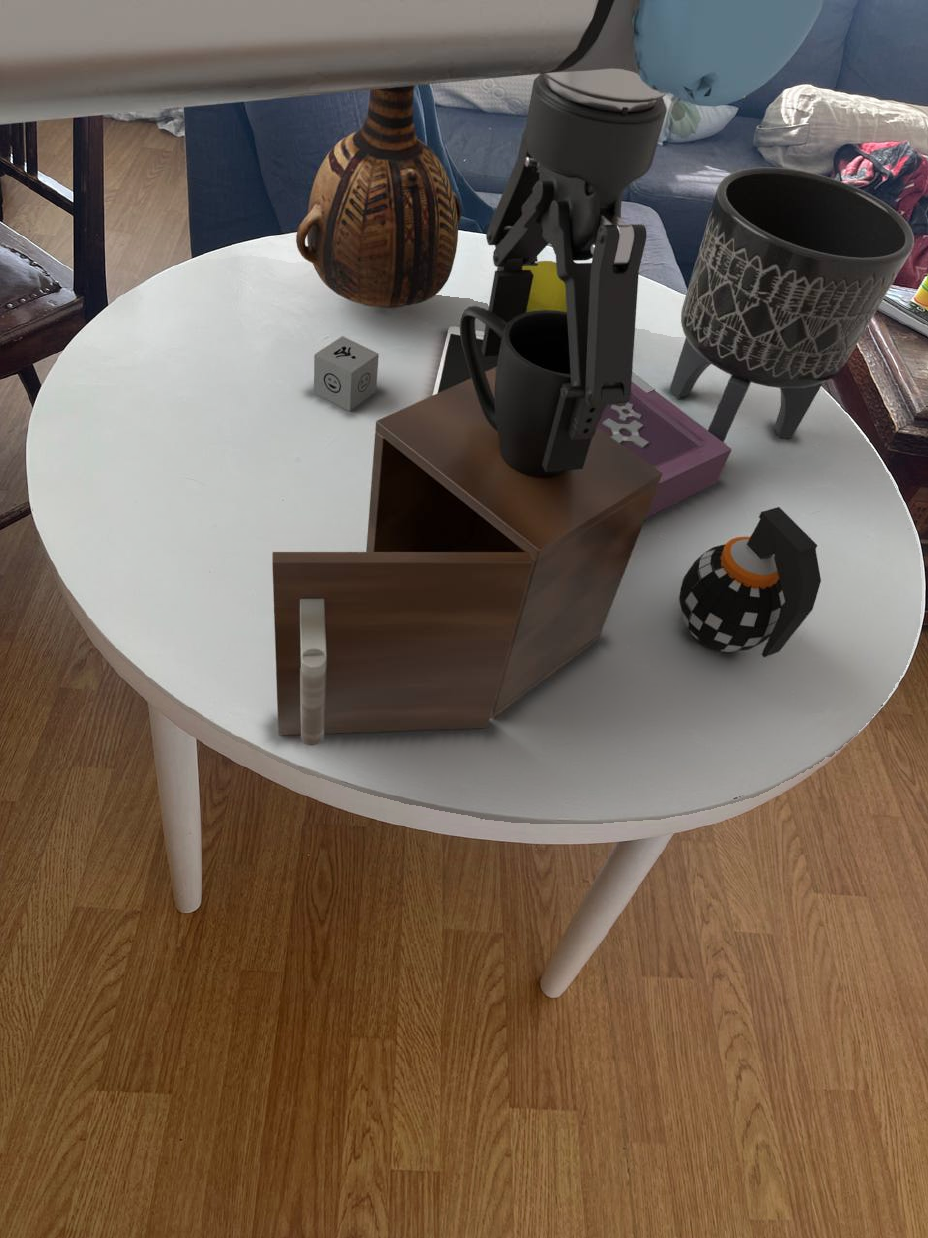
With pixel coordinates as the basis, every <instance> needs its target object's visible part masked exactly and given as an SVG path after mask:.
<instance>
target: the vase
mask: <svg viewBox="0 0 928 1238" xmlns="http://www.w3.org/2000/svg"><path fill="white" fill-rule="evenodd" d="M414 93H415V86H405V87H394V88H384V89H373V90H369V101H368V109H367V114H366V118H365V120H364V122H363V124H362V126H361V128H360V129H359V130H356V131H355V132H352V133H351V134H348V135H347V136H345V137H344V138H342V139H341V140H339V141H338V142H336V144H335V145H334V146H332V148H331V149H330V151H328V153H327V155H326V156H325V158H324V160H323V161H322V163H321V164H320V167H319V168H318V171H317V173H316V176H315V178H314V180H313V184H312V187H311V192H310V197H309V200H308V201H309V202H308V208H307V209H308V210H307V214H306V216H305V217H304V219H303V220H302V221H301V223H300V224H299V226H298V228H297V231H296V235H295V236H296V237H295V243H296V248H297V250H298V252H299V254H300V256H301V257H302V258H303V259H304V260H306V261H307V262H309V263H311V264H312V266H313V267H314V269H315V271H316V273H317V275H318V277H319V278H320V280H321V281H322V282H323V284H324V285H325V286H326V287H328V288H329V289H330V290H331V291H333V292H334V293H335V294H337V295H338V296H340V297H342V298H344V299H346V300H348V301H351V302H352V303H353V302H354V303H356V304H360V305H363V306H367V307H373V308H379V309H380V308H383V309H391V308H393V309H394V308H403V307H408V306H413V305H417V304H420V303H423V302H426V301H428V300H430V299H433V298H434V297H435V296H437V295H438V293H440V291H441V290H443V288H444V286H445V285H446V283H447V282H448V281H449V278H450V276H451V273H452V271H453V267H454V263H455V259H456V254H457V248H458V242H459V224H460V221H461V217H462V207H461V203H460V198H459V197H458V196H457V195H456V192H455V191H454V190H453V187H452V183H451V181H450V178H449V175H448V173H447V171H446V169H445V167H444V165H443V163H442V161H441V160H440V158H439V157H438V156H437V155H436V153H435V152H434V150H432V149H431V148H430V147H429V146H428V145H427V144H426V143H424V142H423V141H421V140H420V139H418V136H417V133H416V130H415V129H416V128H415V122H414ZM306 240H307V241H306ZM306 242H307V245H306Z"/></svg>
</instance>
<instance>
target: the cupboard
mask: <svg viewBox="0 0 928 1238" xmlns="http://www.w3.org/2000/svg"><path fill="white" fill-rule="evenodd" d="M496 368H497V367H495V368H493V369H491V370H488V371H486V372H485V373H486V376H487V380H488V383H489V385H490V388H491V391H492V393H493V396H494V398H495V376H496ZM373 442H374V444H373V456H372V457H373V458H372V471H371V482H370V494H369V495H370V497H369V510H368V523H367V537H366V548H365V552H530V554H531V558H532V562H533V563H532V567H531V570H530V574H529V578H528V581H527V585H526V588H525V592H524V596H523V599H522V603H521V607H520V610H519V614H518V618H517V621H516V625H515V628H514V632H513V636H512V639H511V643H510V647H509V650H508V654H507V658H506V661H505V665H504V668H503V672H502V676H501V679H500V683H499V687H498V690H497V694H496V698H495V701H494V705H493V709H492V712H491V716H490V719H494V718H496V717H497V716H498V715H500V714H501V713H503V712H504V711H505V710H506V709H508V708H509V707H511V706H512V705H514V703H516V702H517V701H519V700H520V699H521V698H523V697H525V695H527V694H528V693H529V692H531V691H532V690H533V689H535V688H536V687H537V686H539V685H540V684H541V683H542V682H544V681H545V680H546V679H548V678H549V677H551V676H553V674H555V673H556V672H557V671H559V670H560V669H562V668H563V667H564V666H566V665H567V664H568V663H569V662H571V661H572V660H573V659H575V658H576V657H578V656H579V655H580V654H581V653H583V652H584V651H586V650H587V649H589V648H590V647H591V646H592V645H594V644H595V643H597V641H599V639H600V636H601V634H602V631H603V629H604V626H605V623H606V620H607V619H608V615H609V613H610V610H611V608H612V605H613V602H614V600H615V598H616V596H617V593H618V590H619V587H620V585H621V582H622V580H623V577H624V575H625V571H626V570H627V568H628V567H627V566H628V564H629V563H630V562H629V561H630V558H631V556H632V553H633V551H634V548H635V546H636V543H637V541H638V539H639V537H640V534H641V531H642V528H643V526H644V523H645V520H646V519H647V518H646V515H647V513H648V510H649V508H650V505H651V502H652V500H653V497H654V495H655V492H656V490H657V487H658V484H659V482H660V479H661V477H662V474H663V473H662V472H660V471H659V470H657V469H656V468H655V467H653V466H652V465H650V464H649V463H647V462H646V461H644V460H643V459H642V458H640V457H639V456H637V455H636V454H634V453H633V452H631V451H630V450H629V449H627V448H626V447H624V446H623V445H621V444H620V443H619V442H617V441H616V440H614V439H613V438H611V437H610V436H608V435H607V434H606V433H604V432H603V431H601V430H600V429H598V428H596V432H595V435H594V436H593V437H592V440H591V443H590V446H589V450H588V453H587V456H586V460H585V463H584V466H583V469H577V470H567V471H565V472H563V473H562V474H560V475H557V476H554V477H533V476H529V475H526V474H523V473H520V472H518V471H516V470H515V469H513V468H512V467H510V466H509V465H508V464H507V463H506V462H505V461H504V459H503V458H502V456H501V454H500V449H499V438H498V432H497V431H496V430H495V429H494V428H493V427H492V426H491V425H490V424H489V422H488V421H487V419H486V417H485V415H484V413H483V411H482V408H481V405H480V403H479V400H478V397H477V394H476V391H475V387H474V384H473V381H472V378H471V379H468V380H466V381H464V382H462V383H459V384H457V385H455V386H453V387H451V388H448V389H446V390H444V391H442V392H439V393H437V394H435V395H433V394H432V395H431V396H428V397H426V398H424V399H422V400H420V401H418V402H415V403H412V404H411V405H409V406H406V407H403V408H402V409H400V410H398V411H395V412H393V413H391V414H387V415H386V416H384V417H382V418H380V419H377V420H376V421H375V430H374V441H373Z"/></svg>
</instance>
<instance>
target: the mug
mask: <svg viewBox="0 0 928 1238" xmlns="http://www.w3.org/2000/svg"><path fill="white" fill-rule="evenodd" d="M476 319H477V320H478V321H480V322H482V323H483V324H484V325H485V326H486V325H487V326H489V327H490V328H491V329H492V330H493V331H494V332H495V333H497V334H498V335H499V336H500V338H501V339H502V340H501V346H500V351H499V356H498V362H497V368H496V376H495V398H494V396H493V393H492V391H491V388H490V385H489V383H488V380H487V376H486V373H485V370H484V366H483V363H482V359H481V356H480V352H479V348H478V343H477V339H476V332H475V330H476ZM459 327H460V336H461V342H462V346H463V350H464V354H465V358H466V361H467V364H468V368H469V371H470V374H471V378H472V381H473V384H474V387H475V391H476V394H477V397H478V400H479V403H480V405H481V408H482V411H483V413H484V415H485V417H486V419H487V421H488V422H489V424H490V425H491V426H492V427H493V428H494V429H495V430H496V431H497V432H498V438H499V449H500V454H501V456H502V458H503V459H504V461H505V462H506V463H507V464H508V465H509V466H510V467H512V468H513V469H515V470H516V471H518V472H520V473H523V474H526V475H529V476H533V477H554V476H557V475H560V474H562V473H563V472H565V471H557V472H545V470H544V468H543V466H542V464H543V460H544V456H545V452H546V448H547V445H548V441H549V437H550V433H551V429H552V425H553V421H554V417H555V414H556V410H557V406H558V402H559V398H560V394H561V390H560V389H561V388H562V386H563V384H567V383H571V372H570V356H569V339H568V322H567V312H564V311H557V310H537V311H530V312H526V313H523V314H520V315H518V316H516V317H514V318H513V319H512V320H511V321H509V322H508V323H507V322H505V321H504V320H503V319H501V318H500V317H498V316H497V315H495V314H494V313H492V312H490V311H489V310H488V309H486V308H485V307H481V306H478V305H471V306H468V307H467V308H465V309H464V310H463V312H462V314H461V317H460V322H459ZM606 406H607V405H603V409H602V412H601V415H600V418H599V421H600V419H601V417H602V415H603V413H604V411H605V409H606ZM599 421H598V423H599Z"/></svg>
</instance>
